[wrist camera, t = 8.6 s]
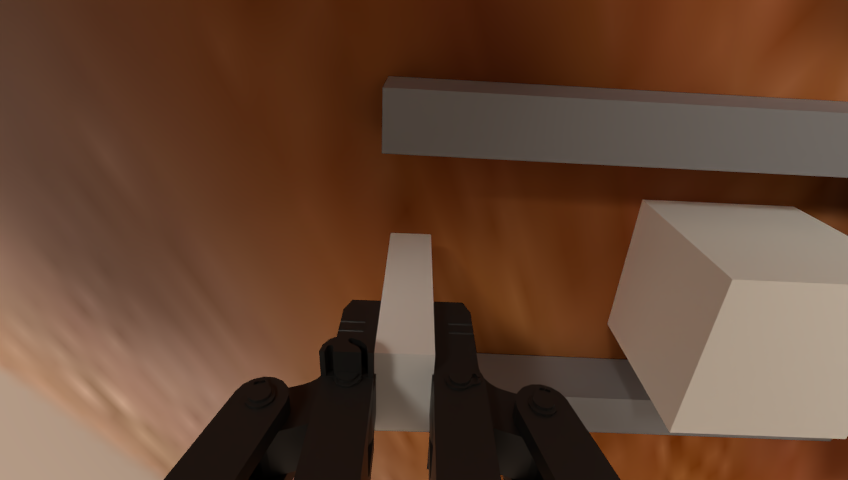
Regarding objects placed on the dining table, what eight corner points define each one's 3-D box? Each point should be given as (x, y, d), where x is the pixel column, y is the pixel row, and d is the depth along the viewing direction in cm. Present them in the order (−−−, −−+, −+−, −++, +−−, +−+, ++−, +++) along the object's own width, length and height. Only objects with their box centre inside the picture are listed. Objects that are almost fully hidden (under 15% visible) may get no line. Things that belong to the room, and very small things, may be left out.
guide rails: (388, 76, 16) (382, 87, 14) (953, 107, 16) (1036, 123, 14) (383, 381, 22) (378, 423, 20) (790, 398, 23) (830, 441, 20)
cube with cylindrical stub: (641, 198, 18) (732, 279, 13) (829, 207, 18) (997, 290, 13) (606, 322, 21) (669, 432, 15) (770, 329, 21) (889, 440, 16)
